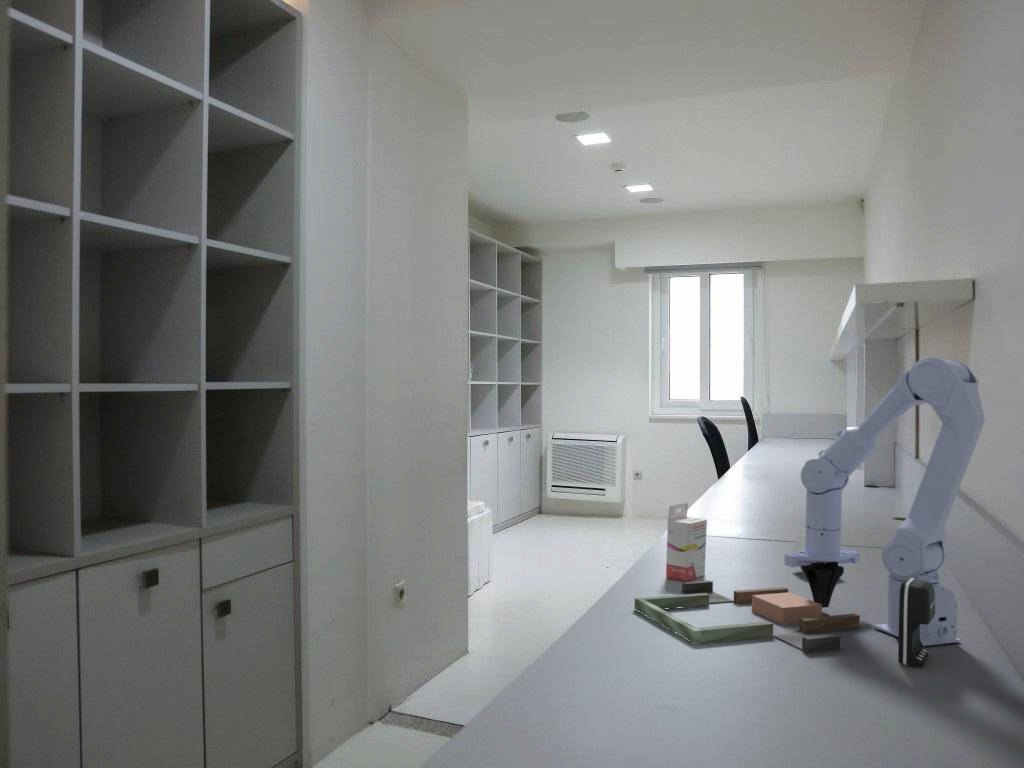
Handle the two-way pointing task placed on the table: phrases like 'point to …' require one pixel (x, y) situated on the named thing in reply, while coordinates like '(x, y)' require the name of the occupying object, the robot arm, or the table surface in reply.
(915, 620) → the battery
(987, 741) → the table surface
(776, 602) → the brick block
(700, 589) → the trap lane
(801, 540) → the die
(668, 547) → the ink cartridge box
